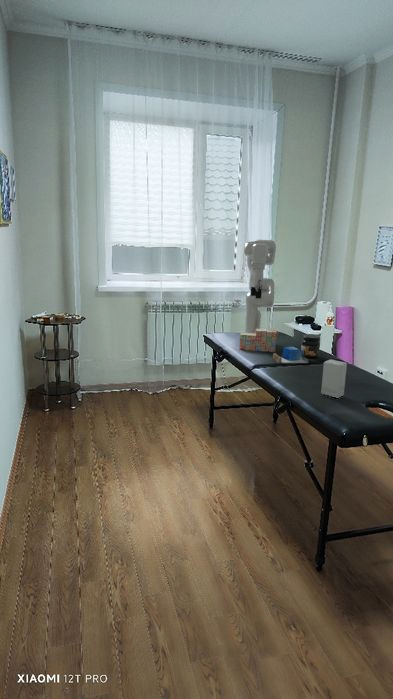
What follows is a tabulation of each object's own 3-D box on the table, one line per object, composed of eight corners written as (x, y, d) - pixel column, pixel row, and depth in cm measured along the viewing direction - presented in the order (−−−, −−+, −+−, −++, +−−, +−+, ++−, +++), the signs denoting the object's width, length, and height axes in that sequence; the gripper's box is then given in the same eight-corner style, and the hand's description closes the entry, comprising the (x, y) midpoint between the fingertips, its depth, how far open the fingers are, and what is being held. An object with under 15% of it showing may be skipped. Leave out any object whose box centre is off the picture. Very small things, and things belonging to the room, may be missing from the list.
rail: (272, 358, 258) (273, 353, 257) (274, 358, 258) (275, 353, 257) (279, 363, 248) (279, 358, 247) (281, 363, 248) (281, 358, 248)
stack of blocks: (239, 349, 273) (240, 329, 270) (239, 347, 279) (240, 327, 276) (275, 352, 271) (277, 331, 268) (274, 349, 277) (276, 329, 274)
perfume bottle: (283, 347, 256) (301, 346, 261) (282, 357, 258) (300, 356, 262) (289, 350, 251) (307, 348, 255) (288, 360, 252) (306, 359, 257)
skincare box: (343, 396, 203) (348, 362, 199) (337, 400, 198) (341, 365, 194) (326, 391, 208) (330, 358, 204) (319, 394, 203) (323, 361, 199)
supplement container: (299, 357, 262) (301, 337, 259) (300, 352, 272) (302, 333, 269) (318, 359, 260) (320, 339, 256) (319, 355, 269) (321, 335, 266)
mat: (275, 358, 258) (276, 355, 257) (301, 358, 260) (302, 355, 260) (281, 363, 249) (281, 360, 249) (308, 363, 252) (308, 360, 251)
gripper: (247, 265, 264) (245, 294, 269) (256, 267, 248) (253, 299, 252) (259, 265, 266) (257, 294, 270) (269, 268, 249) (266, 299, 254)
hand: (255, 297), depth 261 cm, fingers open, 9 cm apart
